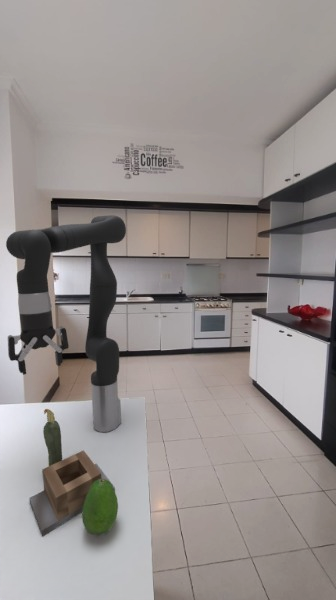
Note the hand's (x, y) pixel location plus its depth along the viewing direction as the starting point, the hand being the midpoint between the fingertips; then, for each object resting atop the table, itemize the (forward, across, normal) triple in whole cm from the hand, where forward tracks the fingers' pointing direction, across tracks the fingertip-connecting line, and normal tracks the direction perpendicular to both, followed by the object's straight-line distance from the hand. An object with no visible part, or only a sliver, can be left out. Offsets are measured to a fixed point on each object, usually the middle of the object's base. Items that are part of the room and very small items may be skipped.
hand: (41, 369), depth 73 cm
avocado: (+32, -5, +24) cm, 40 cm away
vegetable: (+32, -1, +1) cm, 32 cm away
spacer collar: (+32, -2, +12) cm, 34 cm away
